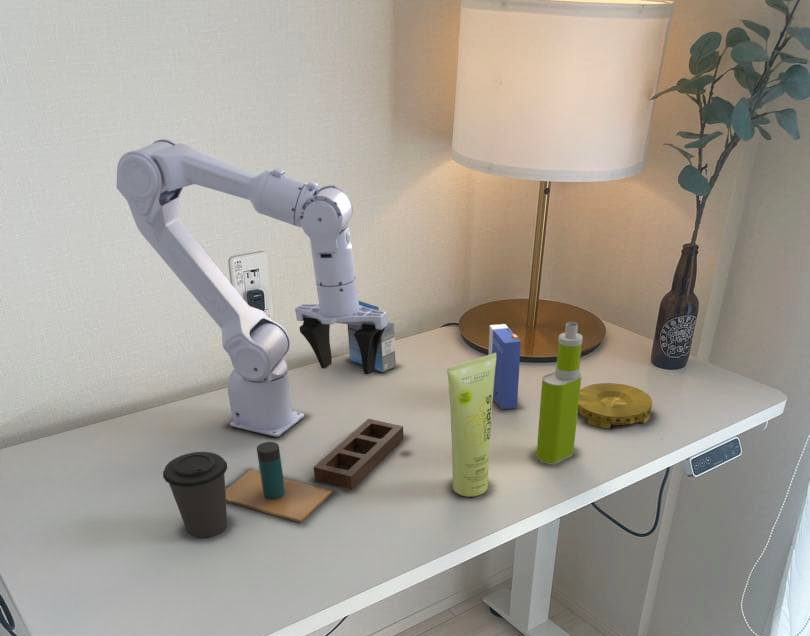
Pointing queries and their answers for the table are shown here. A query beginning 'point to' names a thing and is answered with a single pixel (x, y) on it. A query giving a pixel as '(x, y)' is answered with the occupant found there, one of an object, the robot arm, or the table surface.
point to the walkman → (505, 365)
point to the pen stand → (356, 461)
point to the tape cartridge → (385, 348)
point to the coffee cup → (199, 492)
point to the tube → (471, 423)
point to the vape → (560, 400)
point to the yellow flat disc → (614, 404)
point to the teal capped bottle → (271, 470)
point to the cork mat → (290, 506)
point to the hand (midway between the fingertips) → (347, 368)
